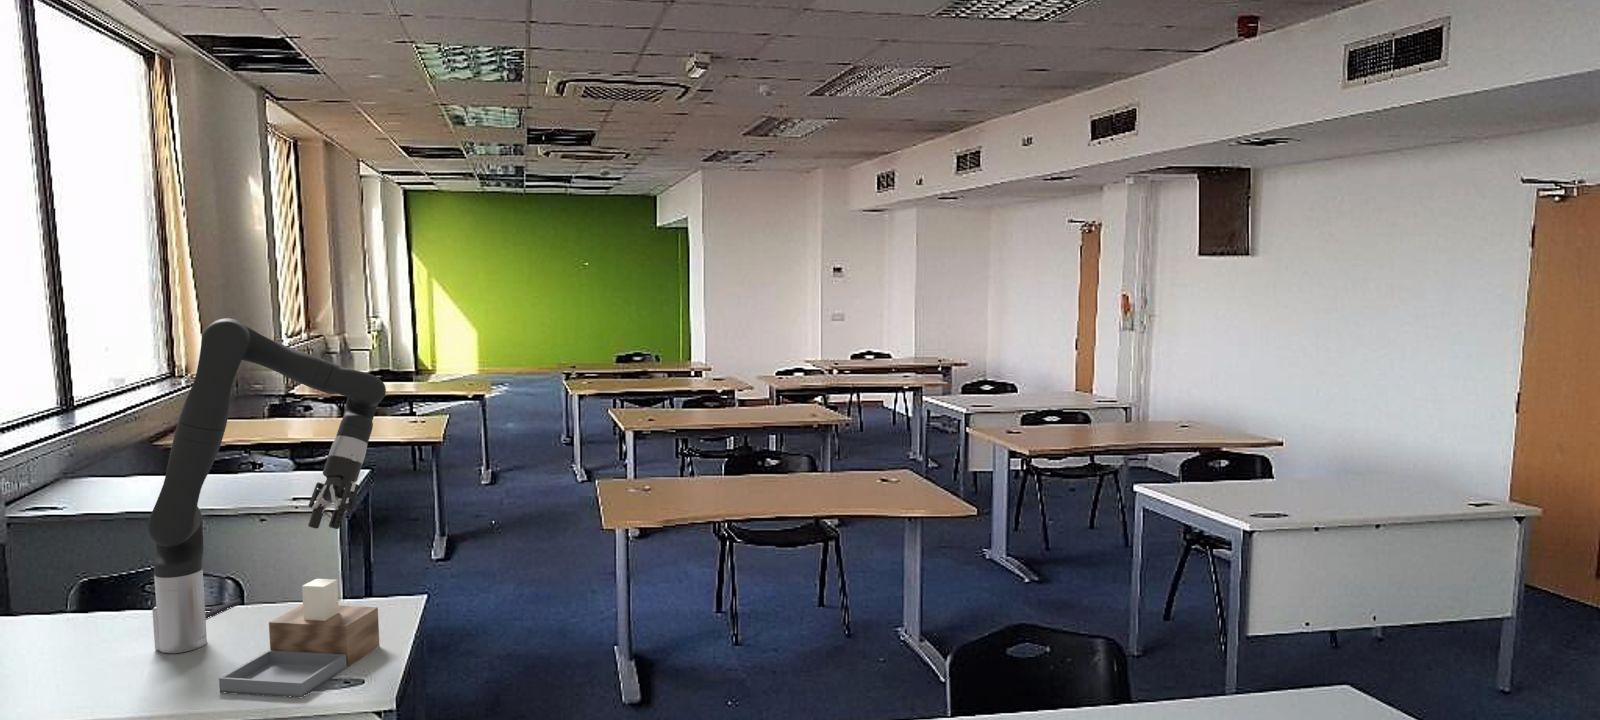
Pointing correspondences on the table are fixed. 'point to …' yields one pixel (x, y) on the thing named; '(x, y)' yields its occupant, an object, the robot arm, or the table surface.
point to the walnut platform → (328, 633)
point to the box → (283, 673)
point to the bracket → (220, 608)
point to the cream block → (320, 599)
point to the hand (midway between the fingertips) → (323, 528)
